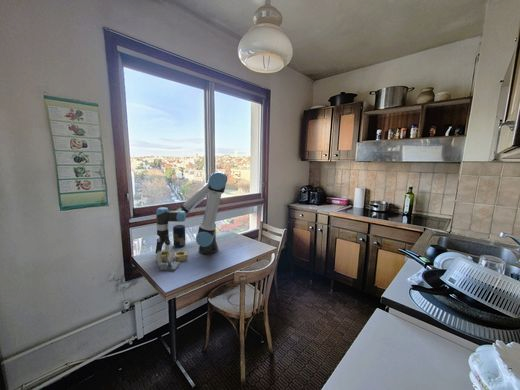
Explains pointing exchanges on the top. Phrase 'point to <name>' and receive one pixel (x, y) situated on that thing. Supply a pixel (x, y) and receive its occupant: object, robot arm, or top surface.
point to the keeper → (166, 263)
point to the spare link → (180, 256)
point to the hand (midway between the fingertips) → (163, 257)
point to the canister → (179, 235)
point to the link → (165, 255)
